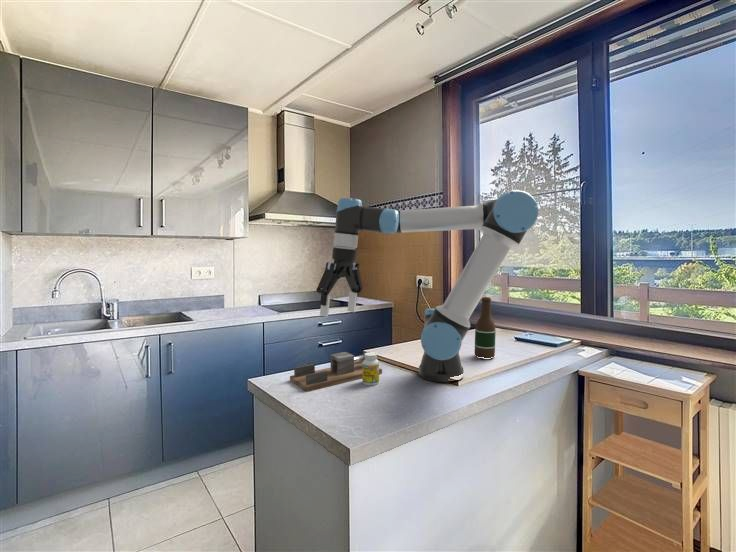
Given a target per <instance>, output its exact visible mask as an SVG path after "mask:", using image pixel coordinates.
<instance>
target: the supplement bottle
mask: <svg viewBox="0 0 736 552" xmlns="http://www.w3.org/2000/svg"><path fill="white" fill-rule="evenodd" d="M367 352H368V353H365V354H364V358H365V360H363V363H362V366H363V378H362V384H364V385H365V386H376V385H378V384H379V383H380V374H379V368H380V362H379V360H378V355H377V352H374V351H373V352H371V351H367Z"/></svg>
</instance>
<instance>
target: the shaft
mask: <svg viewBox="0 0 736 552" xmlns="http://www.w3.org/2000/svg"><path fill="white" fill-rule="evenodd" d="M368 352H369V351H364V352H363V353H362V354H361V355H357V356H354V364H356V363H361V362H363V360H365V358H364V354H365V353H368ZM336 366H337V361H336Z"/></svg>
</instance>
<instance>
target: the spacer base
mask: <svg viewBox="0 0 736 552" xmlns="http://www.w3.org/2000/svg"><path fill="white" fill-rule="evenodd" d="M354 357H355V355H353V354H352V353H349V352H347V351H344V352H343V351H341V352H338V353H333V354H332V353H331V354H330V367H327V368H321V369H317V370H316V369H315V368H316V367H315V366H316V365H315V363H311V364H305V365H300V366H296V367H293V370H294V371H293V372H294V374H293V375H289V381H290V382H292V383H293V384H294V385H296V386H297V387H299V388H301V390H303V391H305V392H307V393H308V392H312V391H315V390H319V389H324V388H328V387H332V386H336V385H341V384H346V383H348V382H352V381H353V382H354V381H356V380H361V379H363V366H362V363H363V362H361V363H356V364H354ZM336 361H337V366H336ZM382 374H383V369H382V368H380V367H379V375H382Z"/></svg>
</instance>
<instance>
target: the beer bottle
mask: <svg viewBox="0 0 736 552" xmlns="http://www.w3.org/2000/svg"><path fill="white" fill-rule="evenodd" d="M480 301H481V308H480V315H479V318H478V320H477V321H476V324H475V326H474V327H475V329H474V356H475V355H476V356H478V357H484V358H491V357H494V356H495V355H496V333H497V332H496V329H497V328H496V324H495V321H494V319H493V318H492V314H491V313H492V311H491V310H492V309H491V307H492V306H491V304H492V303H491V301H492V298H491V297H489V296H482V297H481V299H480ZM494 358H495V357H494Z"/></svg>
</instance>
